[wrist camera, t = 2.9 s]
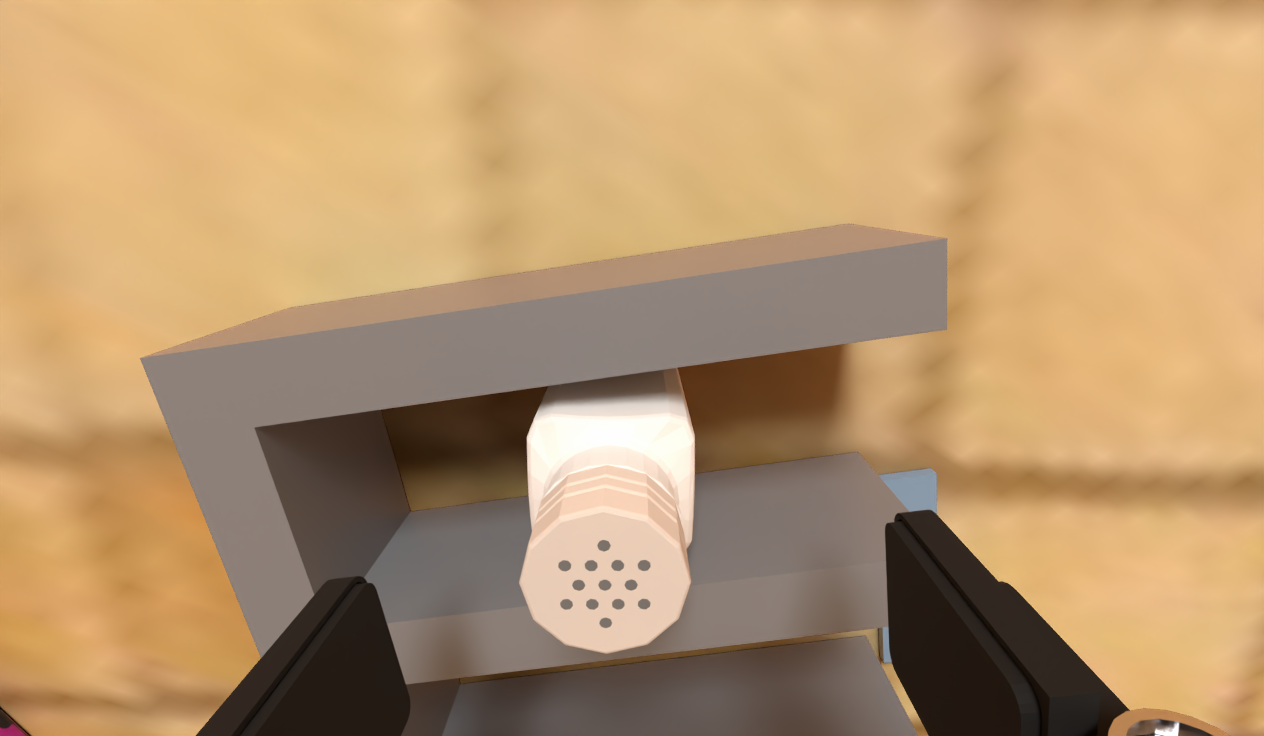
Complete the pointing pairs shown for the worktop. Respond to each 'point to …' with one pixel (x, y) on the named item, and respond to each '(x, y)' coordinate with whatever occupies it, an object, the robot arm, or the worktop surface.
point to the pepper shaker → (610, 510)
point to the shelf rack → (501, 529)
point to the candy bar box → (9, 726)
